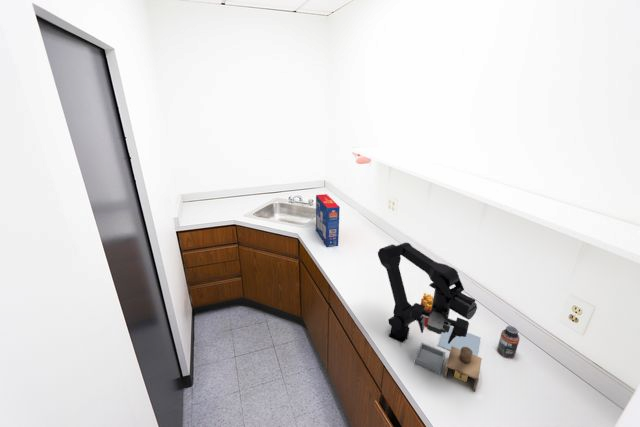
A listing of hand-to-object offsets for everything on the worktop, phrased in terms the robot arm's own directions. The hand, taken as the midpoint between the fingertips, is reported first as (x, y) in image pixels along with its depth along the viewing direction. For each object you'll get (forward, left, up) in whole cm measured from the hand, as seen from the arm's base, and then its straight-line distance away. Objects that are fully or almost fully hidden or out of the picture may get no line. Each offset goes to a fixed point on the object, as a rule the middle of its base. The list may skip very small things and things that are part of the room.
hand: (435, 337), depth 106 cm
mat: (+8, +16, -11) cm, 21 cm away
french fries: (-6, +20, -11) cm, 24 cm away
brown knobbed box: (+11, 0, -11) cm, 15 cm away
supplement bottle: (+24, +20, -11) cm, 33 cm away
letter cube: (+11, 0, -11) cm, 16 cm away
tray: (0, 0, -11) cm, 11 cm away
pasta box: (-88, +69, -11) cm, 112 cm away
